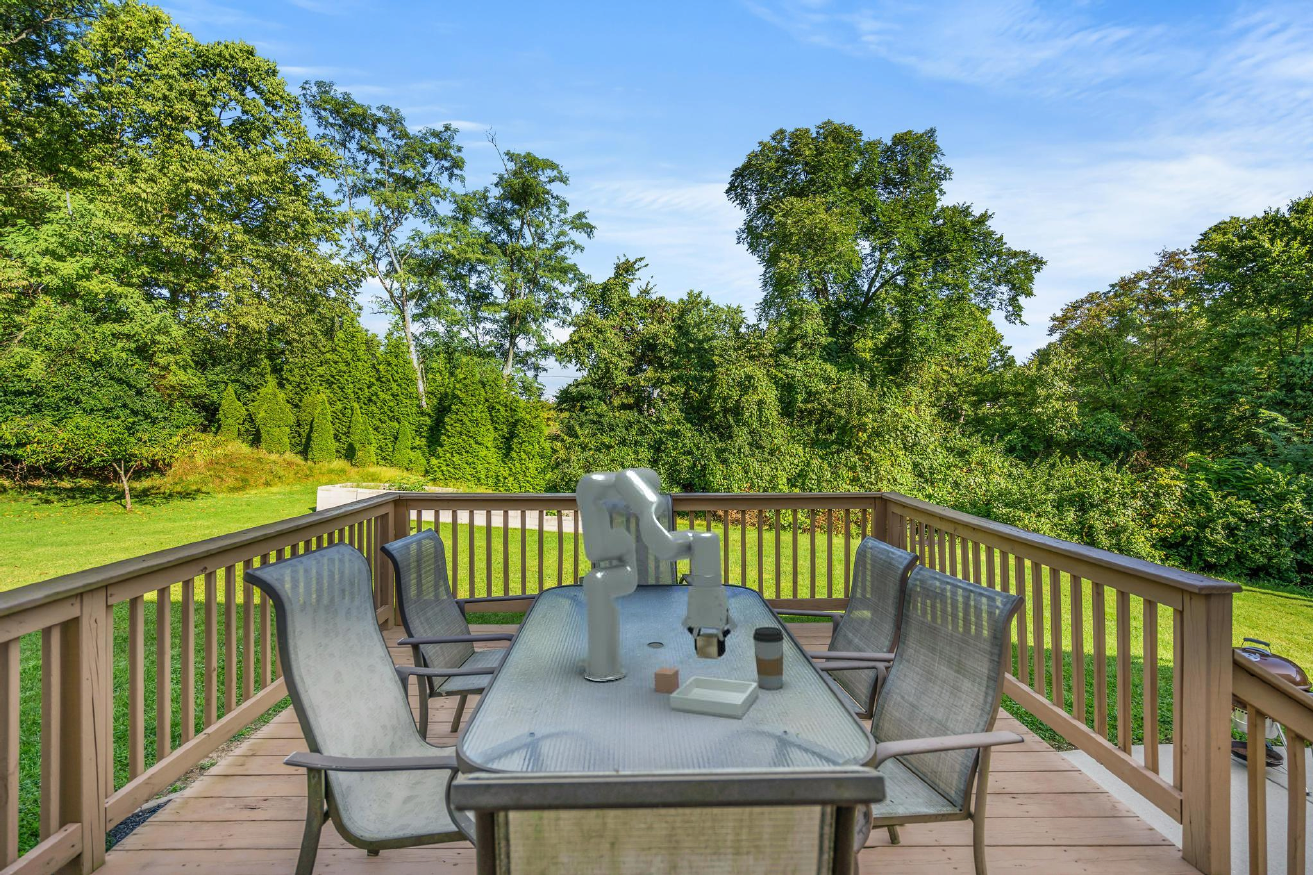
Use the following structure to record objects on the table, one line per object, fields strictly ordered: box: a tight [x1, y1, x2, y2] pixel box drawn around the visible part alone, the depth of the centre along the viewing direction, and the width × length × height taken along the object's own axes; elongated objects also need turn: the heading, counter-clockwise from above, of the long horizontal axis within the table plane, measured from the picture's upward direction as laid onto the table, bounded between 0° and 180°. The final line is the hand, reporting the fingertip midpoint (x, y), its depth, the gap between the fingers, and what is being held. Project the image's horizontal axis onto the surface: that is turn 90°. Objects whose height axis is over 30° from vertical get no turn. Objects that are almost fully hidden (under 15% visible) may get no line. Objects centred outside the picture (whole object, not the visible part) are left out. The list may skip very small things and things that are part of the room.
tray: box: [669, 675, 759, 720], centre depth 159 cm, size 18×16×4 cm
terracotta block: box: [654, 667, 680, 694], centre depth 171 cm, size 5×5×5 cm
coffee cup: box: [752, 626, 784, 691], centre depth 171 cm, size 8×8×15 cm
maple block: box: [696, 632, 720, 660], centre depth 157 cm, size 5×5×5 cm
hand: (710, 653), depth 157 cm, fingers closed on maple block, 5 cm apart
